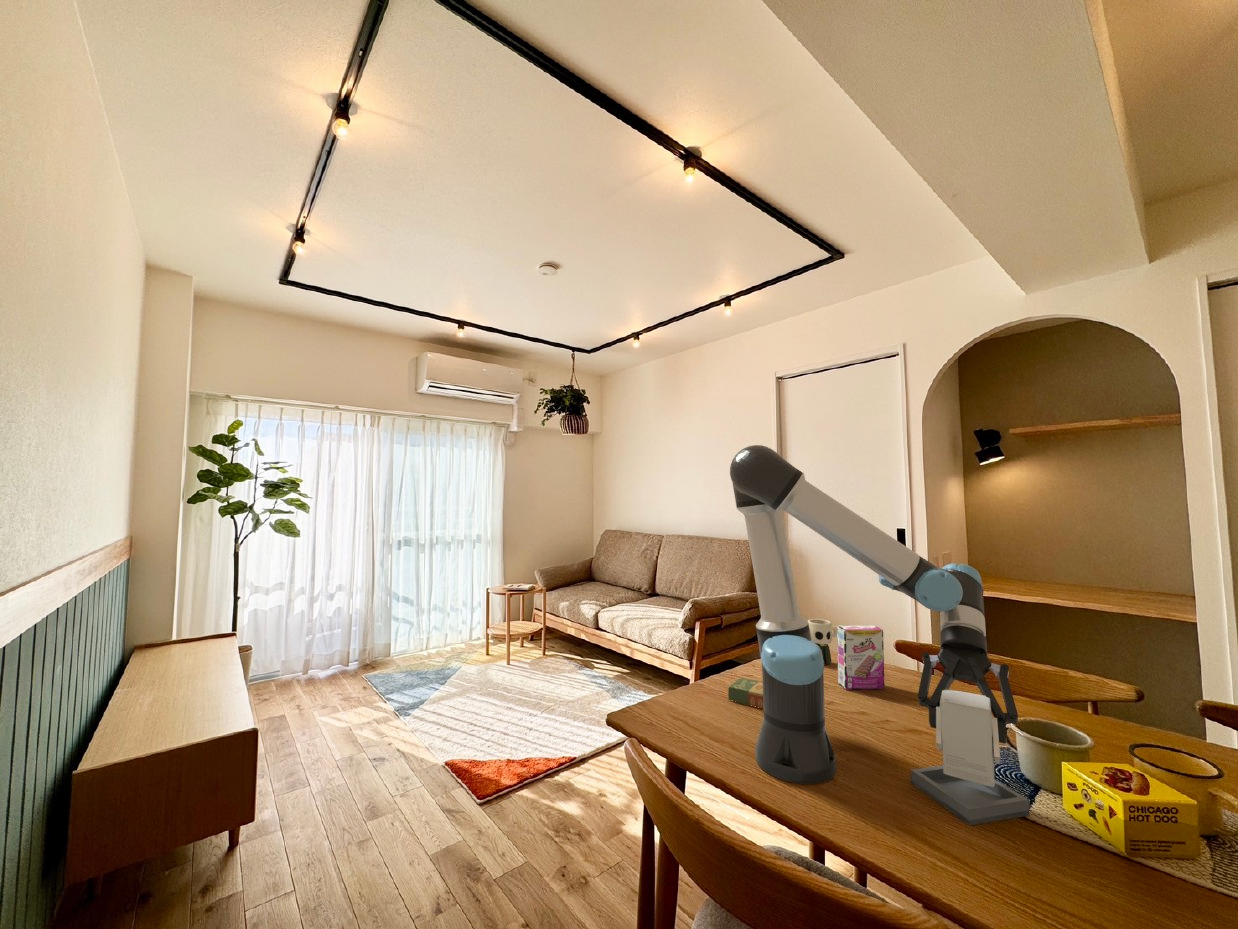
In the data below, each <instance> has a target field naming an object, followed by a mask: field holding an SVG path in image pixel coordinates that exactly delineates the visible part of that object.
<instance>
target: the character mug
mask: <svg viewBox="0 0 1238 929" xmlns="http://www.w3.org/2000/svg"><path fill="white" fill-rule="evenodd" d="M807 621H808V623H809V629H810V635H811V640H812V641H813V642H814V643H815V644H817V645H818V646H819V648H820V649H821V651H822V656H823V660H824V664H826V665H830V664H832V656H831V650H830V646H829V644H831V643H832V641H833V638H837V626H833V625H832V622H831V621H829V620H827V619H821V618H811V619H808V620H807Z"/></svg>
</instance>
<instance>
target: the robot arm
mask: <svg viewBox="0 0 1238 929" xmlns="http://www.w3.org/2000/svg"><path fill="white" fill-rule="evenodd" d="M729 475H730V476H729V477H730V480H731V483H732V488H733V493H734V499H735V507H736V510H737V511H738V512H740V513H741V514H743V517H744V521H745V527H746V534H747V539H748V544H749V552H750V556H751V563H752V570H753V575H754V582H755V586H756V587H755V588H756V594H757V600H758V605H759V612H760V613H759V614H760V619H759V620H758V622H756V624H755V627H756V628H755V630H756V634H757V640H758V647H759V656H760V660H761V661H760V662H761V672H762V673H761V675H762V682H763V709H762V710H763V720H762V723H761V727H760V731H759V733H758V737H757V740H756V744H755V761H756V763H757V765H758V766H759V767H760V769H761V770H763V771H764V772H766V773H767V774H768V775H770V776H772V777H775V778H777V779H780V780H782V781H785V782H789V783H793V784H799V785H800V784H801V785H816V784H817V785H818V784H823V783H826V782H828V781H831V780H832V779H833V778H834V777H835V775H836V774H837V758H836V754H835V751H834V749H833V746H832V743H831V740H830V737H829V734H828V732H827V728H826V714H825V713H826V710H825V708H826V706H825V689H824V688H825V684H824V678H825V677H824V671H825V663H824V660H823V656H822V651H821V649H820V648H819V646H818V645H817V644H815V643H814V642H813V641H812V640H811V635H810V629H809V623H808V620H807V619H806V618H805V617H803V616H802V615H801V613H800V608H799V600H798V595H797V592H796V591H797V589H796V584H795V578H794V573H793V567H792V561H791V555H790V549H789V544H788V538H787V533H786V526H785V520H784V515H783V511H784V512H785V513H787V514H789V515H790V516H791V517H793V518H795V519H796V520H797V521H799V522H800V523H802V524H803V525H805V526H806V527H808V528H809V529H810V530H812V531H814V532H815V533H817V534H818V535H819V536H820V537H822V538H824V539H825V540H827V541H828V542H830V543H831V544H833V545H834V546H836V547H837V548H839V549H840V550H842V551H843V552H845V553H846V554H847V555H849V556H850V557H852V558H853V559H855V560H857V561H858V562H860V563H861V564H862V565H864V566H865V567H866V568H868V569H870V570H871V571H873V572H874V573H875V574H877V575H878V581H879V583H880V585H882V586H884V587H886V588H889V589H890V590H892V591H897V592H900V593H902V594H905V595H906V596H908V597H909V598H911V599H912V600H914V601H916V602H918V604H921V605H922V606H923V607H924V608H926V609H928V610H932V611H936V612H940V613H939V617H940V618H939V621H940V622H939V623H940V624H939V625H940V628H939V629H940V634H939V635H940V636H939V637H940V650H939V652H938V654H935V655H934V654H929V653H928V652H923V653H922V655H921V656H922V662H923V667H922V672H921V678H920V681H919V682H920V683H919V686H918V687H919V688H918V692H917V700H918V704H919V706H920V707H925V708H926V709H928V723H929V726H930V728H932V729H936V730H935V733H936V734H935V740H936V741H935V742H936V748H937V751H941V752H942V734H941V715H940V699H941V694H942V690H945V689H949V690H950V689H951V685H953V684H954V682H955V680H956V681H957V680H958V681H966V682H969V683H973V684H974V683H975V685H976V687H977V689H978V690H979V691H980V693H981V695H984V696H986V697H988V698H990V703H991V714H992V732H993V750H994V764H998V765H1001V754H1000V753H1001V750H1000V743H1001V744H1007V742H1008V735H1007V734H1008V733H1007V725H1010V724H1012V725H1017V724H1018V723H1019V712H1018V710H1017V706H1016V702H1015V699H1014V696H1013V692H1012V689H1011V685H1010V682H1009V678H1010V677H1009V676H1010V668H1009V666H1008V664H1006V663H1002V664H1001V665H1000V664H997V663H994V662H991V659H990V658H989V657H988V643H987V637H986V636H987V634H986V633H987V632H986V631H987V630H986V618H985V605H984V592H985V591H984V587H983V581H982V577H981V574H980V573H979V571H978V570H977V569H976V568H974V567H973V566H970V565H968V564H965V563H961V564H958V563H956V562H955V563H948V564H945V565H944V566H943V567H942V568H939V567H938V566H936V565H934V563H931V561H930V562H929V561H928V560H927V559H925V558H924V557H923V556H920V554H918V553H917V552H915V551H913V550H912V549H911V548H909V547H908V546H906V545H905V544H903V543H901V542H900V541H898V540H897V539H895V538H894V537H892V535H890V534H887V533H886V532H884V531H883V530H881V529H880V528H878V527H877V526H875V525H874V524H872V523H871V522H870V521H868V520H866V518H863V517H862V516H861V515H859V514H857V513H856V512H854V511H853V510H851V509H850V508H848V507H847V506H845V505H843V503H841V502H839V501H837V500H836V499H834V498H833V497H832V496H830V495H829V494H827V493H825V492H824V491H822V490H820V489H819V488H818V487H817V486H815V485H813V484H812V483H810V482H809V481H807V480H806V476H805V473H804V472H802V471H801V470H799V469H798V468H797V467H796V466H794V465H792V464H791V463H790V462H789V461H787V460H786V459H784V458H783V456H781V455H780V454H779V453H778V452H776V451H775V450H774V449H772V448H771V447H768V446H766V445H762V444H760V445H759V444H755V445H750V446H746V447H743V448H742V449H741V450H739V451H738V452H737V453H736V454H735V455H734V456H733V459H732V461H731V463H730V467H729ZM937 663H939V664H940V665H941V667H942V668H943V669H944V671H943V674H942V677H941V678H940V680H939V682H938V683H937V685H936V687H935V689H934V691H933V693H932V694H931V697H930V698H929V692H930V691H929V690H930V686H931V680H932V676H933V669H934V668H935V667H936V666H937ZM990 671H991V672H993V674H994V677H995V678H997V679H998V682H999V687H1000V691H1001V695H1002V698H1003V701H1004V706H1005V709H1006V710H1005V711H1006V712H1004V711H1003V709H1002V707H1001V705H1000V704H999V702H998V700H997V698H996V697H995V694H994V693H993V691H992V690H991V687H990V685H989V684H988V682H987V679H986V677H985V676H986V675H987V674H988V673H989V672H990Z"/></svg>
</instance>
